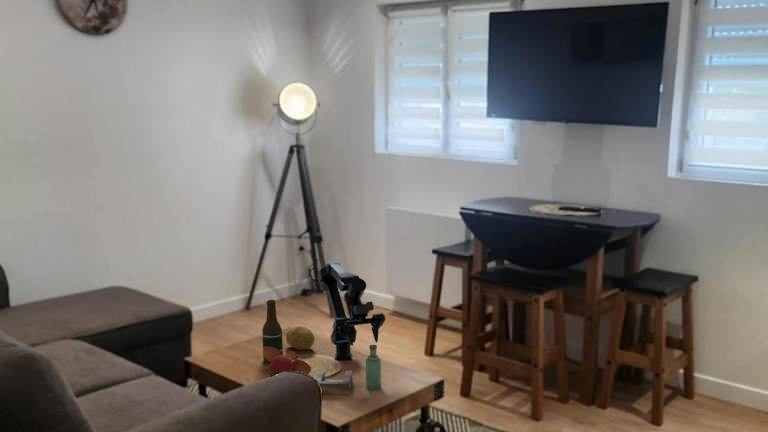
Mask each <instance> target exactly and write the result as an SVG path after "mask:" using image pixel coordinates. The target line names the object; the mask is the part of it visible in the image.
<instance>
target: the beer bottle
mask: <svg viewBox="0 0 768 432" xmlns="http://www.w3.org/2000/svg"><path fill="white" fill-rule="evenodd" d="M276 304H277V302H276V300H274V299H268V300H267V301H266V319H265V322H264V324H263V327H262V330H261V333H262V350H263V349H264V347H265V346H272V347H276V348H278V350H280V351H281V352H282V355H284V353H283V352H284V351H283V349H284V348H283V347H284V346H283V343H284V342H283V331H282V327H281V324H280V322H279V321H278V317H277V309H276V307H277V306H276ZM262 357H263V362H264V363H265V364H268V365H270V363H271V362H270V361H268V360H267V359H266V358H265V357H264V355H263V354H262Z"/></svg>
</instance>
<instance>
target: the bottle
mask: <svg viewBox="0 0 768 432" xmlns="http://www.w3.org/2000/svg"><path fill="white" fill-rule="evenodd" d="M377 348H378V346H377V345H376V344H370V345H369V355H368V356H367V358H365V388H366V389H367V390H369V391H378V390H381V388H382V364H381V363H382V359H381V358H379V355H377Z"/></svg>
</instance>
